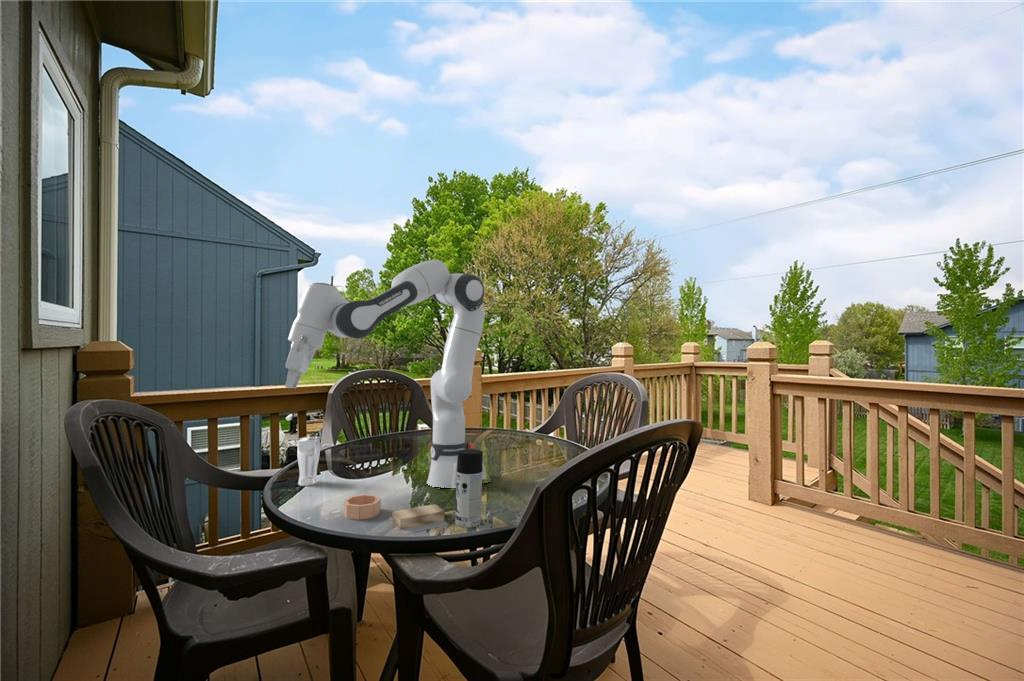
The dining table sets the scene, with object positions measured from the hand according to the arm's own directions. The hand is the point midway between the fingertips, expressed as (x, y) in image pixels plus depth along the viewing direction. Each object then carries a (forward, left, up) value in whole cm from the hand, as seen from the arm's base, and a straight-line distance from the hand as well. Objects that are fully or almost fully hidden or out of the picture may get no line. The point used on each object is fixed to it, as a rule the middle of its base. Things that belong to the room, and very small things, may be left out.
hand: (290, 387), depth 126 cm
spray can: (-39, +29, -35) cm, 60 cm away
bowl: (-17, +9, -35) cm, 40 cm away
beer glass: (-10, -31, -35) cm, 48 cm away
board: (-28, +22, -34) cm, 49 cm away
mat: (-28, +22, -35) cm, 50 cm away
